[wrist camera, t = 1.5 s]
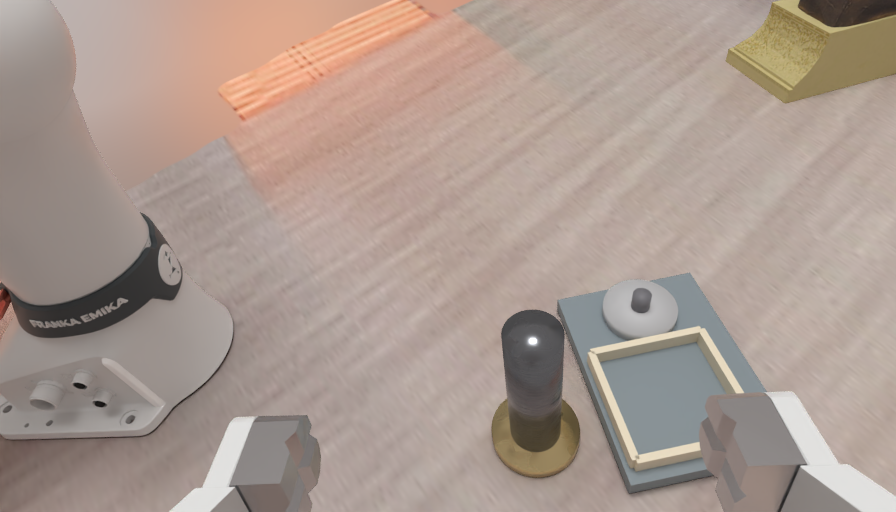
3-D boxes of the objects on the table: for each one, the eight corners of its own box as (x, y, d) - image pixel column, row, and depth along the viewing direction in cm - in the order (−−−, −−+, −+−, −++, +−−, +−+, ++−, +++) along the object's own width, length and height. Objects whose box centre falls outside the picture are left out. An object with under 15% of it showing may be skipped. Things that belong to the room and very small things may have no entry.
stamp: (503, 486, 43) (491, 392, 33) (484, 406, 48) (469, 304, 38) (591, 467, 44) (605, 368, 34) (564, 389, 48) (568, 283, 38)
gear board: (628, 493, 42) (635, 469, 39) (557, 309, 54) (558, 280, 51) (796, 457, 42) (816, 430, 39) (687, 283, 55) (695, 252, 52)
